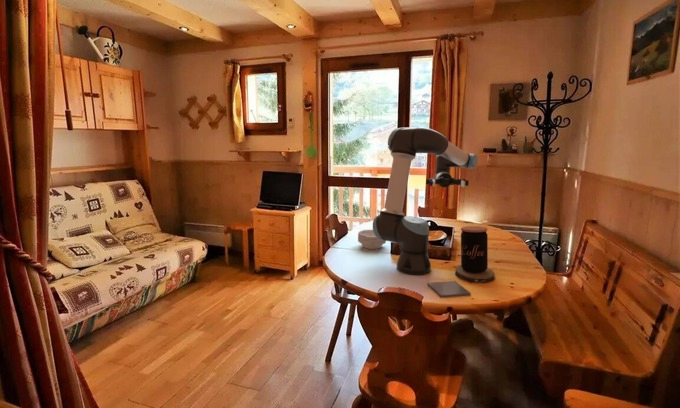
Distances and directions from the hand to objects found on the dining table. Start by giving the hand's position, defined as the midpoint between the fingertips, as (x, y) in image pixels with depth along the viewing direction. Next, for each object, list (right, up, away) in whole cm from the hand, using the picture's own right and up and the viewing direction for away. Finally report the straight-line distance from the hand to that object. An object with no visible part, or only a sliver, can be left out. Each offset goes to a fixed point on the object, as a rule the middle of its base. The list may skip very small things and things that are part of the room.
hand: (449, 184), depth 170 cm
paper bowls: (-34, -33, +26) cm, 54 cm away
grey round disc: (+6, -41, -15) cm, 44 cm away
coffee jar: (+6, -38, -15) cm, 41 cm away
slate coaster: (-9, -43, -29) cm, 53 cm away
